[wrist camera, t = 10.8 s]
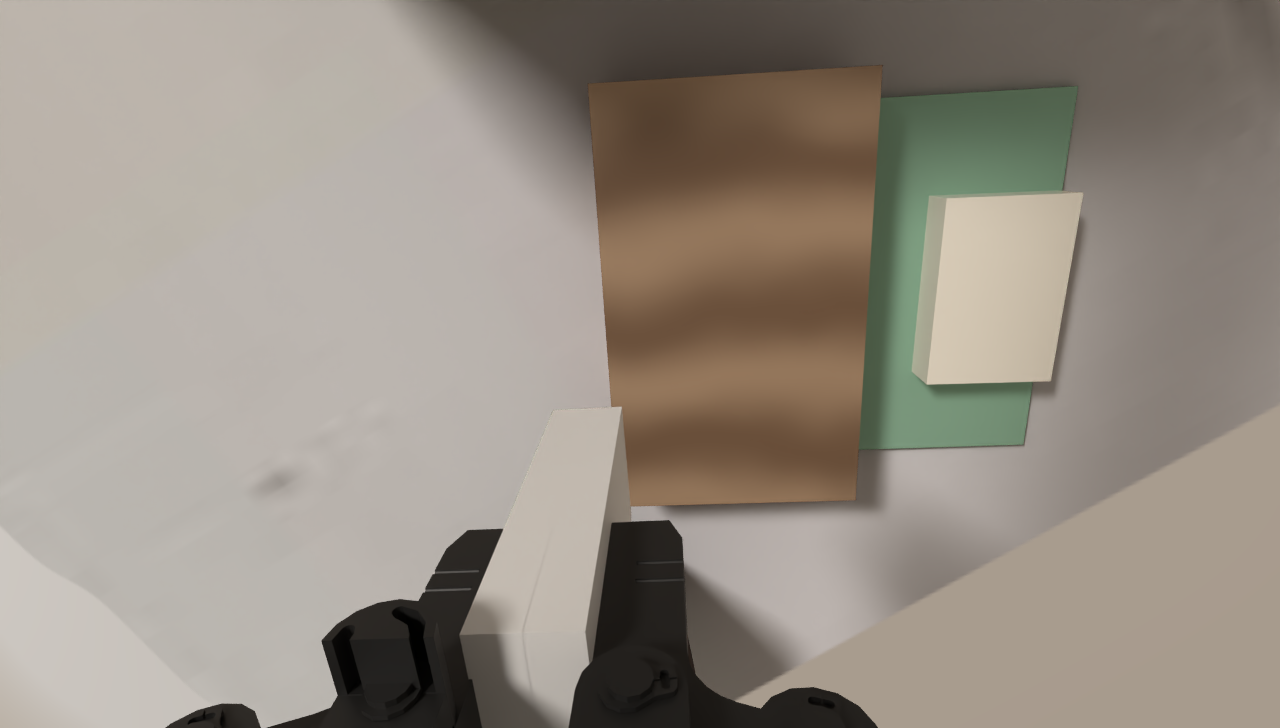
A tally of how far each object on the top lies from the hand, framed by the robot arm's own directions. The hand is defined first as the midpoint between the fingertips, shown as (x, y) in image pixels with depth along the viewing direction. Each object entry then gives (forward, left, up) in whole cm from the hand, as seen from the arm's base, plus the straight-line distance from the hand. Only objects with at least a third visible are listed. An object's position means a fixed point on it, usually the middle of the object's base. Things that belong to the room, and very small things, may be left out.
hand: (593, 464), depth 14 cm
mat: (+1, +16, -20) cm, 25 cm away
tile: (+1, +17, -17) cm, 25 cm away
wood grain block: (+1, +5, -20) cm, 20 cm away
